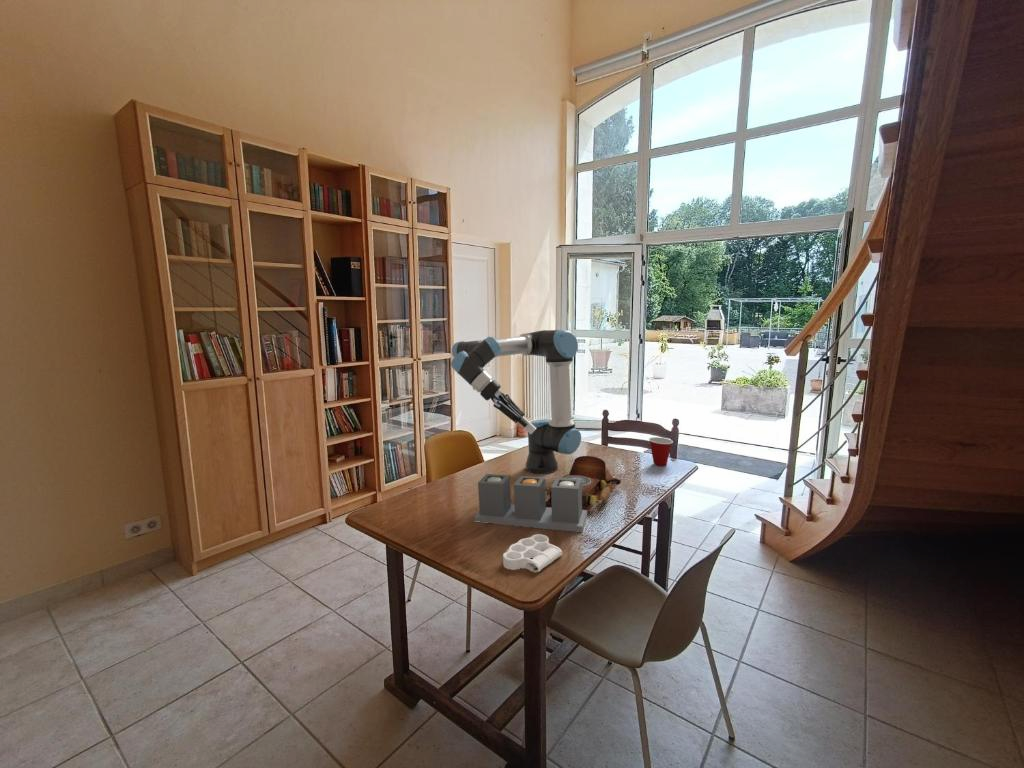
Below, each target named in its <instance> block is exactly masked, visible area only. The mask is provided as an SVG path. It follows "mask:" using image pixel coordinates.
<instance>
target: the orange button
mask: <svg viewBox="0 0 1024 768" xmlns="http://www.w3.org/2000/svg"><path fill="white" fill-rule="evenodd" d="M523 484H535V485H536V484H537V481H536V480H534V479H526V480H523Z"/></svg>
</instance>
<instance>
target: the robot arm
mask: <svg viewBox="0 0 1024 768" xmlns="http://www.w3.org/2000/svg"><path fill="white" fill-rule="evenodd" d="M578 350H579V342H578V339H577V337H576V335H575V334H574V333H573V332H571V331H570V330H566V329H547V330H545V329H544V330H543V329H542V330H537V331H534V332H529V333H528V332H527V333H521V334H520V335H519V336H513V337H503V338H502V337H501V338H500V337H499V338H495V337H493V336H487V337H486V338H484V339H480V340H471V341H457V342H455V343H453V345H452V346H451V355H452V357H453V358H452V360H451V362H450V366H451V368H452V369H453V370H454V372H456V374H457V375H459V376H460V377H461V378H462V379H463V380H464V381H465V382H466V383H468V384H469V385H470V387H472V390H473V391H476V392H477V393H479V394H480V396H481V397H482V398H483V399H484V400H485V401H489V400H491V401H492V402H493V407H494V408H496V409H497V410H498V411H500V412H501V413H502V414H504V415H505V416H506V417H507V418H508V419H510V420H511V421H512V422H514V423H515V424H517V423H518V424H519V425H520V426H521V427H522V428H524V430H526V432H527V440H528V454H527V458H526V462H525V471H527V470H528V471H527V472H529V471H530V472H529V473H531V472H533V473H532V474H539V473H541V475H542V474H550V473H554V472H556V471H557V470H558V469H559V466H558V465H559V464H558V461H557V459H556V455H555V453H559V454H561V455H571V454H574V453H575V452H576V451H578V448H579V447H580V444H581V442H582V433H581V432H580V430H579V429H577V428H576V422H575V421H574V420H573V419H572V399H571V380H570V379H571V378H570V377H571V376H570V375H571V374H570V373H571V372H570V371H571V369H570V366H571V364H572V362H573V361H574V359H573V358H574V357H575V356H576V355H577V352H578ZM515 355H522V356H537V357H538V356H539V357H544V358H545V363H546V364H547V365H548V366H549V384H550V387H549V388H550V405H551V406H550V407H551V408H550V409H551V419H550V418H545V419H537V420H533V421H529V420H528V419H527V417H525V412H523V410H522V409H521V408H520V407H519V406H518V405H517V404H516V403H515V402H514V400H513V399H512V398H511V396H509V394H505V393H504V392H502V391H500V389H501V384H499V383H498V381H496V380H495V379H493V377H492V376H491V374H489V373H488V372H487V371H486V370H485V369H484V367H485V366H487V365H488V364H489V363H490V362H491V361H492V360H493V359H495V358H498V357H505V356H515Z"/></svg>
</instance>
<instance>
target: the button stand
mask: <svg viewBox="0 0 1024 768" xmlns="http://www.w3.org/2000/svg"><path fill="white" fill-rule="evenodd" d="M490 477H500V478H501V481H500V482H488V481H487V479H488V478H490ZM526 479H534V480H536V481H537V484H536V485H535V484H523V480H526ZM563 481H570V482H573V483H574V487H566V486H559V483H560V482H563ZM477 486H478V487H477V489H478V504H479V505H478V507H479V508H478V509H479V510H478V511H477V513H476V514H475V515H474V516H473V522H474V521H480V522H488V523H495V524H494V525H497V524H505V525H504V526H508V525H515V526H514V527H519V526H523V527H522V528H530V527H533V528H532V529H541V528H542V529H543V530H544V529H545V530H554V531H564V532H565V531H566V532H574V531H575V532H576V533H583V532H584V529H585V526H586V522H587V518H588V512H587V510H582V480H581V479H564V478H562V477H559V478H558V477H555V479H554V481H553V482H552V484H551V487H550V488H551V500H552V508H551V507H546V501H547V499H546V497H547V494H546V491H545V489H546V477H544V476H530V475H529V476H528V475H527V476H526V475H520V476H519V477H518V479H517V480H516V482H514V484H513V495H514V498H513V499H514V504H512V497H511V496H512V495H511V493H512V491H511V475H509V474H493V473H486V474H484V476H483V477H482V478H481V479H479V481H478V483H477ZM584 525H585V526H584Z"/></svg>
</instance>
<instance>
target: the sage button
mask: <svg viewBox="0 0 1024 768" xmlns="http://www.w3.org/2000/svg"><path fill="white" fill-rule="evenodd" d="M487 481H488V482H500V481H501V478H500V477H490V478H488V479H487Z"/></svg>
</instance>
